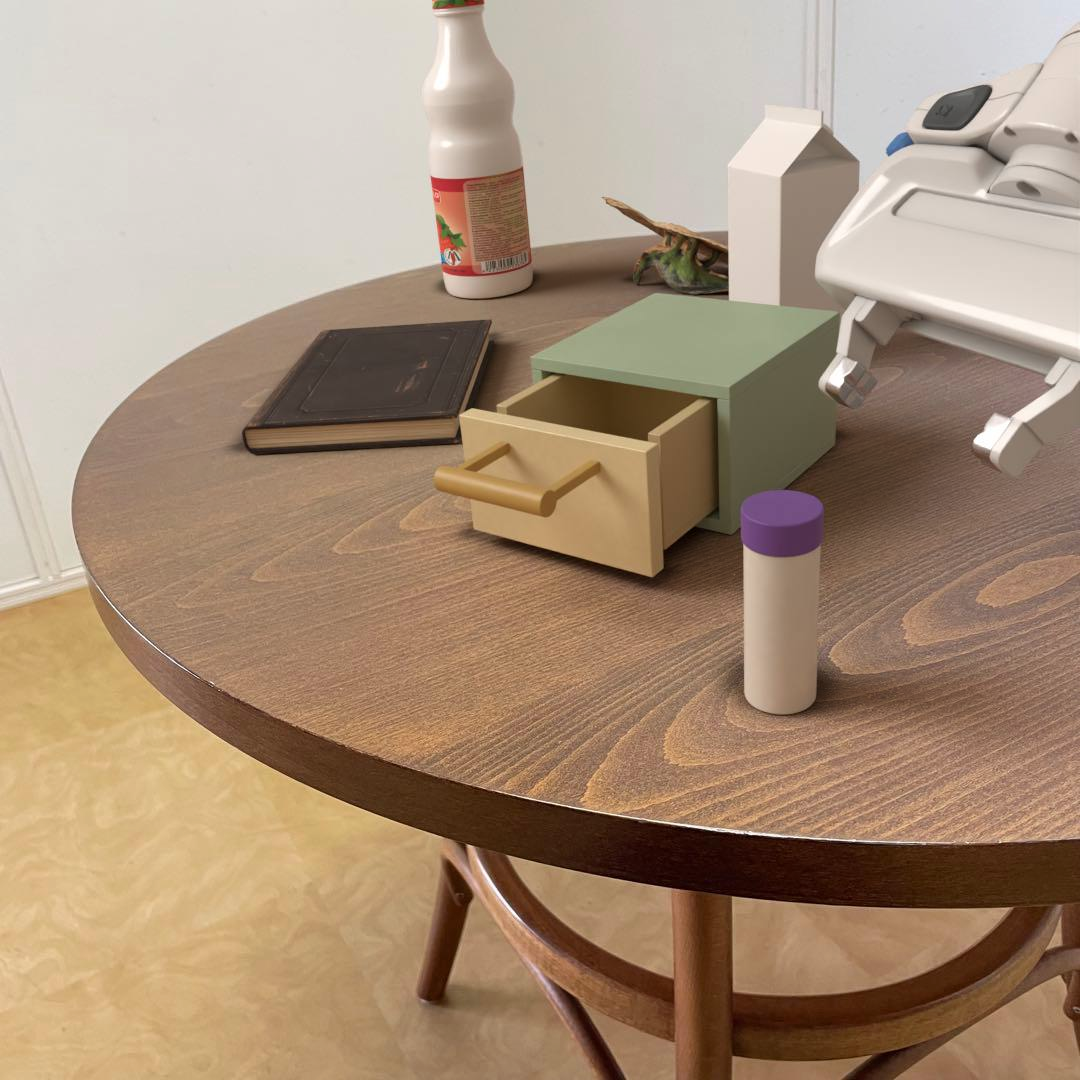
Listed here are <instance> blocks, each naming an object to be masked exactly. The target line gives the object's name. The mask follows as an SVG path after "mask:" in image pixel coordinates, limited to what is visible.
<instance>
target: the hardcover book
mask: <svg viewBox="0 0 1080 1080" xmlns="http://www.w3.org/2000/svg"><path fill="white" fill-rule="evenodd" d="M492 324H493V321H492V319H490V318H489V319H487V318H486V319H474V320H472V319H471V320H460V321H443V322H442V321H441V322H429V323H426V322H425V323H413V324H396V325H395V324H394V325H382V326H365V327H351V328H335V329H322V331H320V332H319V333H318V335H317V336H316V337H315V338H314V340H313V341H312V342H311V343H310V344H309V346H308V347H307V348H306V350H305V351H304V352H303V354H302V355H301V356H299V359H298V360H297V361H296V362H295V364H293V366H292V367H291V369H290V370H289V371H288V372H287V374H286V375H285V376H283V378H282V380H281V381H280V383H279V384H278V385H277V386H276V387H275V388H274V389H273V391H272V392H271V393H270V395H269V396H268V397H267V399H266V400H265V401H264V402H263V404H261V406H260V407H259V408H258V410H257V411H256V413H255V414H254V415H253V416H252V418H251V419H250V420H249V421H248V422H247V424H246V425H245V426H244V427H243V429H242V431H241V436H242V437H241V439H242V442H243V446H244V448H245V450H246V451H247V452H249V453H250V454H253V455H267V454H268V455H269V454H286V453H306V452H323V451H341V450H342V451H343V450H360V449H380V448H381V449H382V448H397V447H399V448H401V447H416V446H432V445H433V446H434V445H435V446H436V445H453V444H461V442H462V434H461V426H460V419H459V415H460V414H462V413H464V412H466V411H468V410H469V409H471V408H473V407H474V403H475V401H476V397H477V396H478V392H479V389H480V386H481V383H482V380H483V377H484V375H485V374H484V373H485V371H486V369H487V365H488V362H489V359H490V357H491V354H492V352H493V348H494V345H495V340H490V336H489V335H490V329H491V326H492Z"/></svg>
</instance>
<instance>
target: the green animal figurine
mask: <svg viewBox="0 0 1080 1080" xmlns="http://www.w3.org/2000/svg"><path fill="white" fill-rule="evenodd" d="M601 199H603V200H604V201H605V204H607V205H608V206H610V207H612V208H614V209H616V210H617V211H619V212H620V213H621V214H622V215H624V216H625V217H627V218H629V219H631V220H633V221H634V222H636V223H638V224H640V225H641V226H643V227H645V228H647V229H648V230H650V231H652V232H653V233H655V234H657V235H658V236H660V237H662V238H663V239H662V240H661V241H660V242H658V243H656V244H655V245H653V246H651V247H649V248H647V249H645V250H644V251H643V252H642V253H641V254H640V255H639V256H638V259H637V261H636V262H635V263H634V264H635V265H634V267H633V271H632V280H633V282H634V284H635V285H636V286H639V285H640V282H641V278H642V275H643V273H644V272H645V271H647V270H649V269H650V268H652V267H655V268H656V271H657V272H658V274H659V276H660V278H661V279H662V280H663V281H664V282H665V283H666V284H667V285H668V286H669V287H670V288H672V289H673V290H674V291H676V292H678V293H683V294H688V295H690V296H691V295H692V296H698V295H703V294H704V295H705V294H706V295H707V294H714V293H724V292H729V280H728V279H729V276H728V275H725V274H721V273H718V272H715V271H713V270H711V269H710V267H711V266H713V265H714V264H716V262H717V261H718V262H720V263H723V264H725V265H727V266H729V251H728V245H726V244H725V245H724V244H722V243H720V242H718V241H715V240H713V239H710V238H707V237H703V236H701V235H699V234H698V233H696V232H694V231H693V230H690V229H688V228H687V227H685V226H683V225H679V224H674V223H672V222H662V221H654V220H652V219H650V218H649V217H647V216H646V215H645V214H643V213H642V212H640V211H639V210H636V209H634V208H633V207H631V206H630V205H627V204H626V203H624V202H622V201H620V200H617V199H614V198H612V197H611V198H610V197H607V196H601ZM683 251H684V254H683ZM698 254H701V255H702V256H705V257H704V258H703V259H700V258H698Z"/></svg>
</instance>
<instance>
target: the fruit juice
mask: <svg viewBox="0 0 1080 1080" xmlns="http://www.w3.org/2000/svg"><path fill="white" fill-rule="evenodd" d="M431 6H432V11H433V16H434V17H436V20H437V41H436V47H435V54H434V59H433V62H432V64H431V67H430V68H429V71H428V73H427V74H426V76H425V78H424V81H423V83H422V87H421V101H422V107H423V111H424V113H425V117H426V118H427V121H428V124H429V127H430V136H429V141H428V146H427V155H428V156H427V157H428V159H427V160H428V170H429V176H430V177H429V178H430V184H431V190H432V199H433V206H434V212H435V213H434V214H435V222H436V229H437V230H436V231H437V240H438V246H439V254H440V262H441V269H442V277H443V282H444V287H445V289H446V292H447V293H448V294H449V295H450V296H453V297H455V298H462V299H470V300H471V299H491V298H499V297H505V296H509V295H513V294H517V293H519V292H522V291H524V290H526V289H528V288H529V287H530V286H531V285H532V283H533V277H534V270H533V268H534V267H533V260H532V259H533V258H532V257H533V256H532V249H531V248H532V247H531V235H530V226H529V213H528V203H527V193H526V183H525V171H524V159H523V150H522V147H521V146H522V145H521V140H520V136H519V134H518V131H517V130H516V129H515V128H516V127H515V125H514V120H513V119H514V118H513V116H514V110H515V104H516V103H515V102H516V91H515V85H514V81H513V77H512V75H511V74H510V72H509V71H508V69H507V68H506V67H505V66H504V65H503V63H502V62H501V61H500V60H499V59H498V57H497V56H496V54H495V52H494V50H493V48H492V45H491V43H490V40H489V38H488V35H487V32H486V28H485V25H484V19H483V13H484V12H485V0H431Z"/></svg>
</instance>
